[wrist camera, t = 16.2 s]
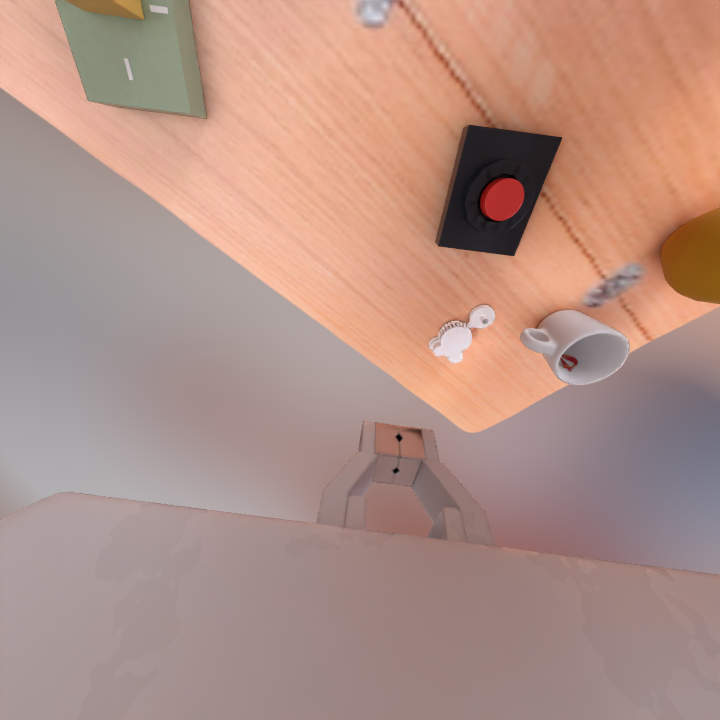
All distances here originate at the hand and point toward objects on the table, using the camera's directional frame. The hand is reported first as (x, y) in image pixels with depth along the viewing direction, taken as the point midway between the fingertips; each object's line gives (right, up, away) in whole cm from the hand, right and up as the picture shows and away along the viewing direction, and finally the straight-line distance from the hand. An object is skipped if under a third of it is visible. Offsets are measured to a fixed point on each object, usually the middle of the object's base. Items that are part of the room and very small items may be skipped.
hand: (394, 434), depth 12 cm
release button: (+13, +20, +16) cm, 29 cm away
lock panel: (-22, +34, +14) cm, 43 cm away
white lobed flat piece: (+13, +7, +30) cm, 33 cm away
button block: (+13, +22, +19) cm, 32 cm away
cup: (+25, +8, +28) cm, 39 cm away
